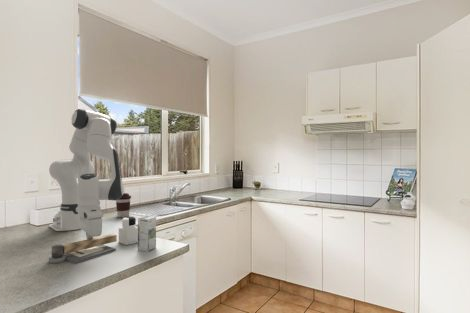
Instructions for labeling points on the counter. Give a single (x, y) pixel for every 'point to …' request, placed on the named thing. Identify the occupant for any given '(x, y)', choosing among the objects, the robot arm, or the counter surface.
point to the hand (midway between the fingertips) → (89, 242)
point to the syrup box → (146, 233)
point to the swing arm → (82, 245)
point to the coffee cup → (123, 205)
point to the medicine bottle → (128, 231)
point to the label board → (82, 254)
